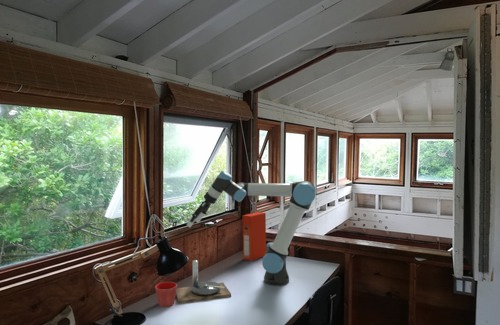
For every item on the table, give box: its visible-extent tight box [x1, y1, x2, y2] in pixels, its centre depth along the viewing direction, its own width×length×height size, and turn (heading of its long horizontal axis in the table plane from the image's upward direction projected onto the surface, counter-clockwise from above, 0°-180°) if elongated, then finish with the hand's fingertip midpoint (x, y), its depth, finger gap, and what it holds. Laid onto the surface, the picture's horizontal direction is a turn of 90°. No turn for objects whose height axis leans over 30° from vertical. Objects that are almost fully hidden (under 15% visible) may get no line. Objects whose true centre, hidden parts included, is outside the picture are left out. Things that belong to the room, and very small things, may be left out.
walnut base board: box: [175, 282, 232, 305], centre depth 202 cm, size 28×18×2 cm, turn 108°
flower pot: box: [155, 281, 178, 308], centre depth 189 cm, size 11×11×10 cm
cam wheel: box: [190, 259, 224, 296], centre depth 202 cm, size 18×16×16 cm
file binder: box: [241, 211, 267, 262], centre depth 269 cm, size 8×17×32 cm, turn 140°
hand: (192, 223), depth 215 cm, fingers open, 13 cm apart
